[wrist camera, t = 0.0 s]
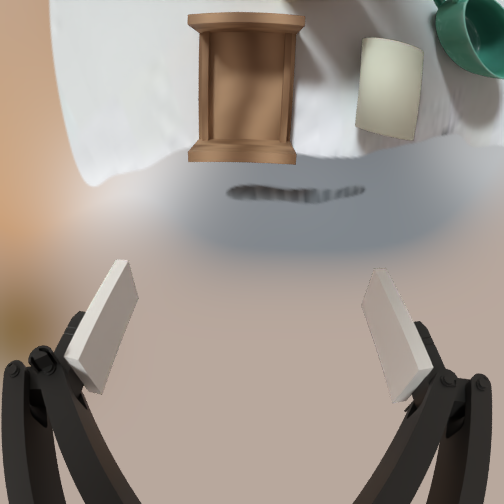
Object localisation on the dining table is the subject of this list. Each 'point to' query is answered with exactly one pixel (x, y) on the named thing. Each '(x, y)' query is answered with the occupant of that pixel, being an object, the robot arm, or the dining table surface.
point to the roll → (389, 88)
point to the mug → (473, 34)
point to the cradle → (245, 86)
